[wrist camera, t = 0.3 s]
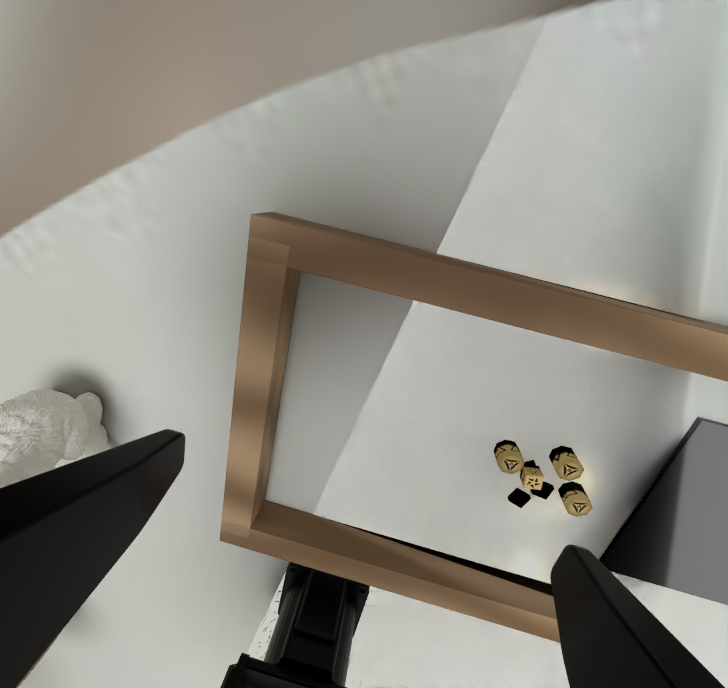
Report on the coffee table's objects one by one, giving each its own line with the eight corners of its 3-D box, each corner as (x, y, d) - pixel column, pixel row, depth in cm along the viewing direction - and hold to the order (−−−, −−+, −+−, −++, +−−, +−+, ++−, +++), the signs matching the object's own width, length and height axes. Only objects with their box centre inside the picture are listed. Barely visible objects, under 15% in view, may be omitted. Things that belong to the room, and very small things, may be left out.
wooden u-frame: (563, 609, 27) (577, 647, 24) (236, 512, 28) (219, 540, 26) (756, 334, 18) (805, 354, 16) (271, 211, 19) (251, 214, 17)
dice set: (490, 434, 23) (496, 453, 21) (579, 427, 22) (593, 447, 20) (496, 497, 25) (502, 520, 23) (579, 494, 24) (592, 518, 22)
